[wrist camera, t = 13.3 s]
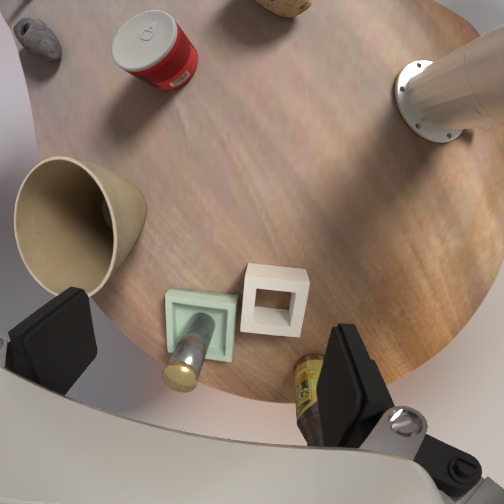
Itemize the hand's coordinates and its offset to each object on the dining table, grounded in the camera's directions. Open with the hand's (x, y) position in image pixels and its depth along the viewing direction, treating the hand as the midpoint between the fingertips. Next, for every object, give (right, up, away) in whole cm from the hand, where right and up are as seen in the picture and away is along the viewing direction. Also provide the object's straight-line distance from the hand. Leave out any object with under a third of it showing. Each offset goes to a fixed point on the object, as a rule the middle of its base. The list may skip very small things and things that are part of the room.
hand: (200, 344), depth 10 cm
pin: (-6, -7, +33) cm, 34 cm away
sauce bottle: (+12, -16, +36) cm, 41 cm away
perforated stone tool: (-34, +40, +23) cm, 57 cm away
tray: (-6, -7, +34) cm, 35 cm away
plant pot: (-17, +10, +30) cm, 36 cm away
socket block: (+5, -2, +32) cm, 32 cm away
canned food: (-9, +29, +24) cm, 39 cm away
